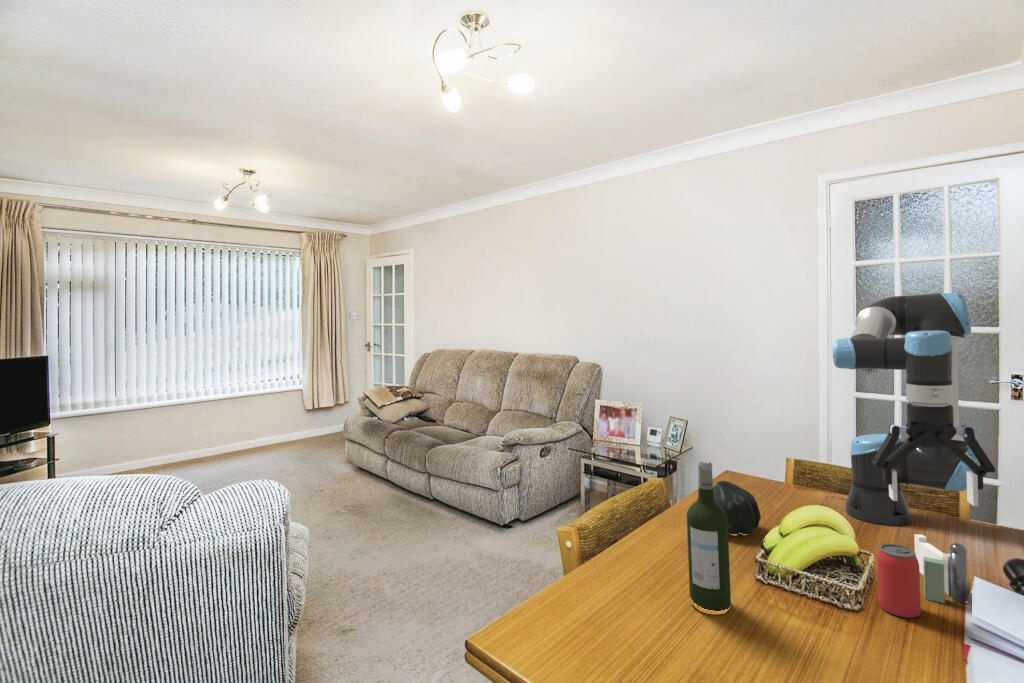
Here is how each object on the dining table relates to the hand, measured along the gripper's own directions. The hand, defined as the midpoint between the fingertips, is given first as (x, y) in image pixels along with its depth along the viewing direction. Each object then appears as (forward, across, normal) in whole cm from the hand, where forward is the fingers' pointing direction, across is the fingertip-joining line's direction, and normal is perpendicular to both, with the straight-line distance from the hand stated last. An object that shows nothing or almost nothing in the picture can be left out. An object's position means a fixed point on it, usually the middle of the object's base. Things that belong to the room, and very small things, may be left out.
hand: (932, 501), depth 104 cm
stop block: (+18, -3, -8) cm, 19 cm away
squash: (+18, -39, +17) cm, 46 cm away
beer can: (+18, -10, -14) cm, 25 cm away
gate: (+18, 0, 0) cm, 18 cm away
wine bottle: (+17, -45, -23) cm, 53 cm away
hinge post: (+18, +2, -7) cm, 19 cm away
